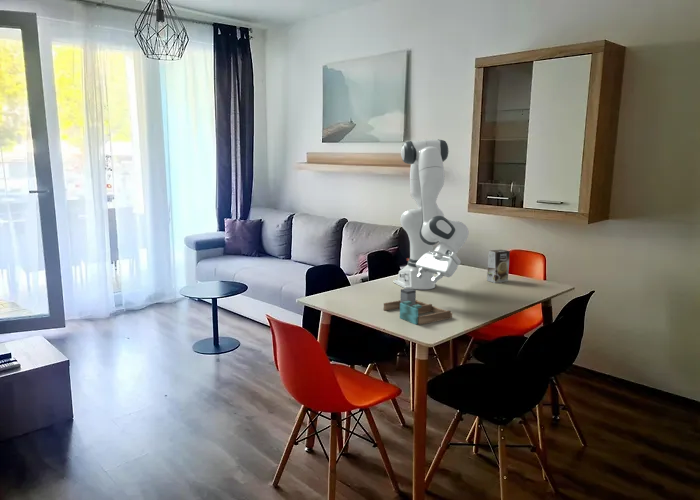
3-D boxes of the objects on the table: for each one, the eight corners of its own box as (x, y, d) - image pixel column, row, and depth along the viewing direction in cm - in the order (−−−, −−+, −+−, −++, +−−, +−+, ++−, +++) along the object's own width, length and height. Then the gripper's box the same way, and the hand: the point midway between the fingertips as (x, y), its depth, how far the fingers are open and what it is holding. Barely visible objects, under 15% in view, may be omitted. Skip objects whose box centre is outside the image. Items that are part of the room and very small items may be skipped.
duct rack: (381, 310, 217) (382, 294, 215) (415, 304, 226) (415, 289, 225) (417, 325, 198) (418, 308, 196) (452, 317, 207) (452, 301, 206)
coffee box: (495, 283, 266) (496, 252, 263) (486, 280, 271) (488, 250, 268) (508, 281, 270) (510, 250, 267) (499, 278, 275) (501, 248, 273)
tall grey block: (400, 310, 217) (400, 289, 216) (408, 308, 220) (409, 288, 218) (406, 312, 214) (407, 291, 212) (415, 311, 216) (415, 290, 214)
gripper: (423, 246, 230) (405, 271, 226) (456, 253, 213) (438, 279, 209) (430, 255, 233) (413, 279, 229) (464, 263, 216) (445, 289, 212)
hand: (425, 279), depth 219 cm, fingers open, 8 cm apart
